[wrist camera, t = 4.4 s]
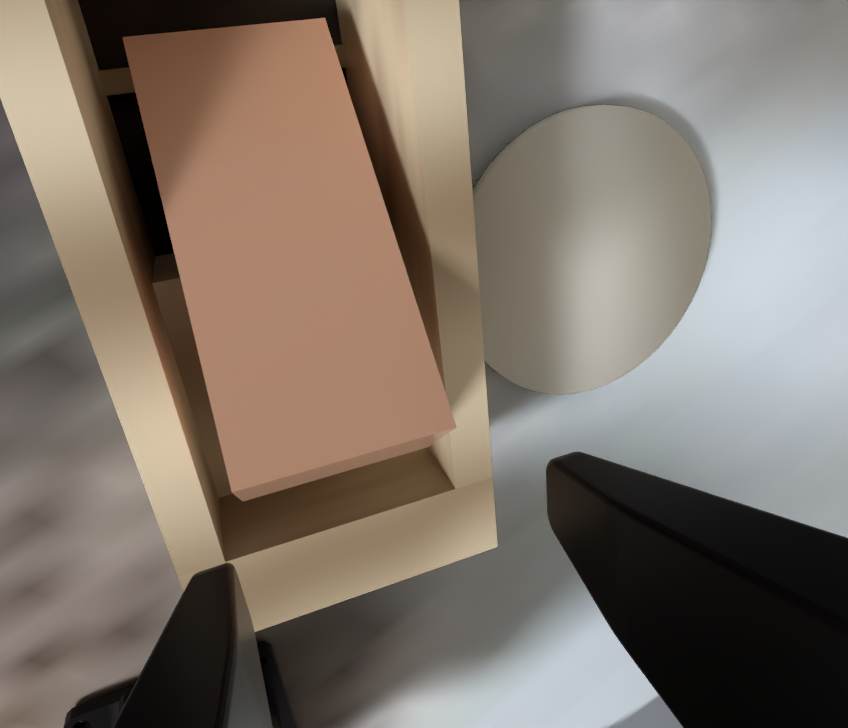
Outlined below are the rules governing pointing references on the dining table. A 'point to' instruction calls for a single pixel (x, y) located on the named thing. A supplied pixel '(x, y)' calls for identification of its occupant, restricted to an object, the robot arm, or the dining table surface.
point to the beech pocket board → (173, 335)
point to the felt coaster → (587, 246)
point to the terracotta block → (285, 254)
